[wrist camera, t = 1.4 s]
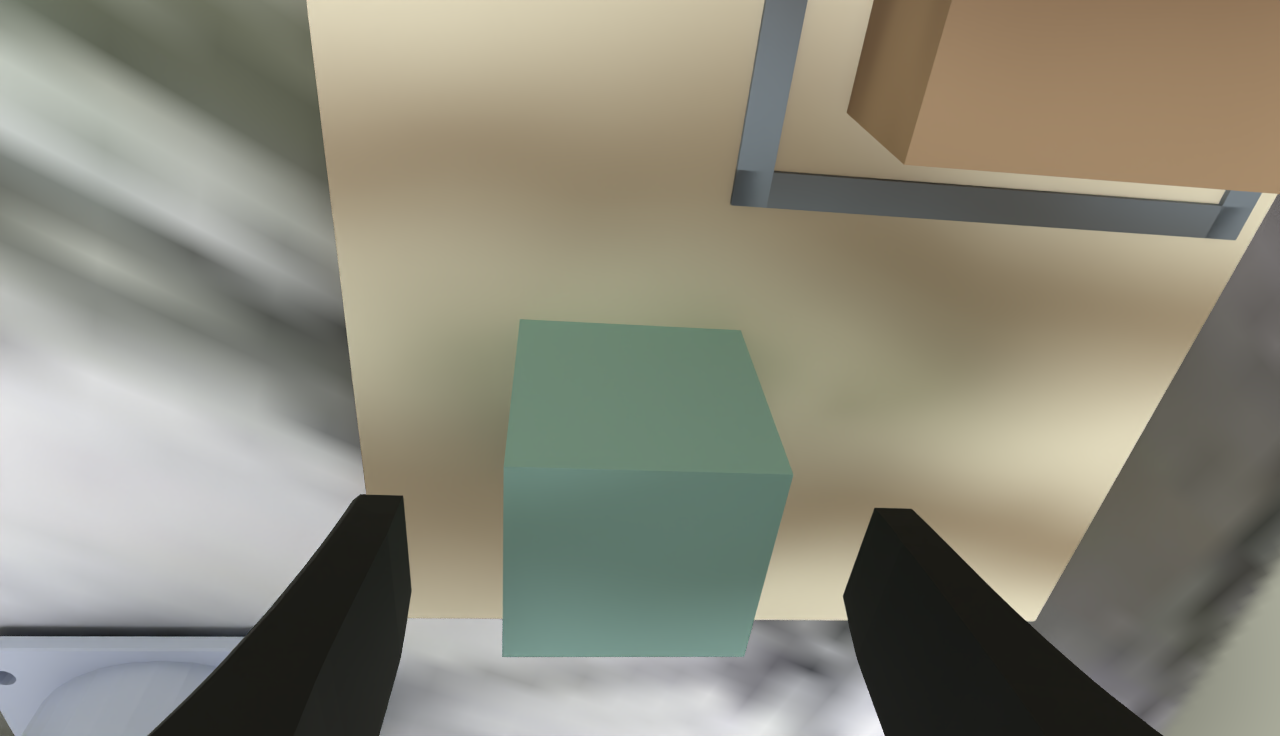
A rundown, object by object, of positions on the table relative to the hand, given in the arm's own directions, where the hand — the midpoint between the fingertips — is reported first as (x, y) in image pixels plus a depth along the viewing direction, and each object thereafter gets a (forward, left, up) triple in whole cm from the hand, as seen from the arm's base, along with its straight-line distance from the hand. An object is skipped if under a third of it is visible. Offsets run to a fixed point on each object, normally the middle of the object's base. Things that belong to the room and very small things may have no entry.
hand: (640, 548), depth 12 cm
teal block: (0, 0, -4) cm, 4 cm away
